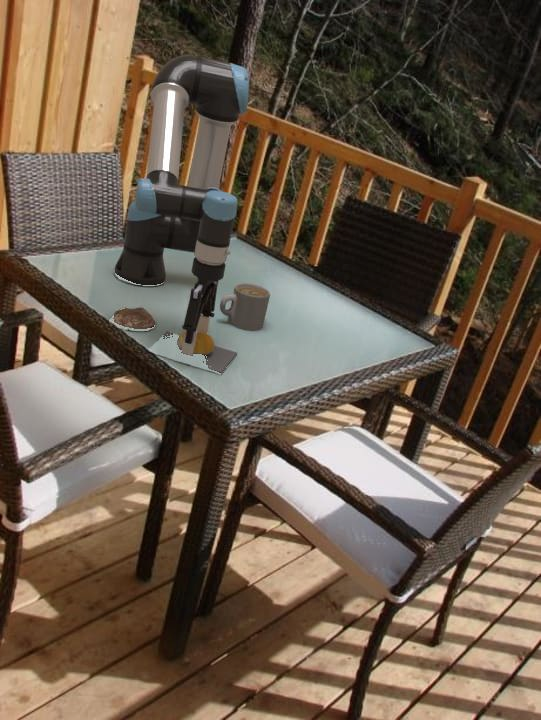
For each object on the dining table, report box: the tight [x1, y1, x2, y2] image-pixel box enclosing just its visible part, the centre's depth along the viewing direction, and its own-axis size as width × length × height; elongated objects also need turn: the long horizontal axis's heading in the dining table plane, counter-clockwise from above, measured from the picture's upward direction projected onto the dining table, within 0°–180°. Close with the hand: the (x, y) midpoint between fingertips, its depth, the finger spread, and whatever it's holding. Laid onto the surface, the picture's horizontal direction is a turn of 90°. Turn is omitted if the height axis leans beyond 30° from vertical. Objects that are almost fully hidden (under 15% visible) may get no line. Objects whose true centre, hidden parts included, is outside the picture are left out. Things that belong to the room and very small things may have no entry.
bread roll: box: [177, 331, 215, 355], centre depth 174 cm, size 8×9×4 cm
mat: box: [160, 330, 238, 373], centre depth 175 cm, size 19×13×1 cm
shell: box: [113, 307, 157, 329], centre depth 184 cm, size 12×13×4 cm
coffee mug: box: [219, 282, 271, 332], centre depth 198 cm, size 13×10×10 cm
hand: (193, 346), depth 175 cm, fingers closed on bread roll, 9 cm apart
